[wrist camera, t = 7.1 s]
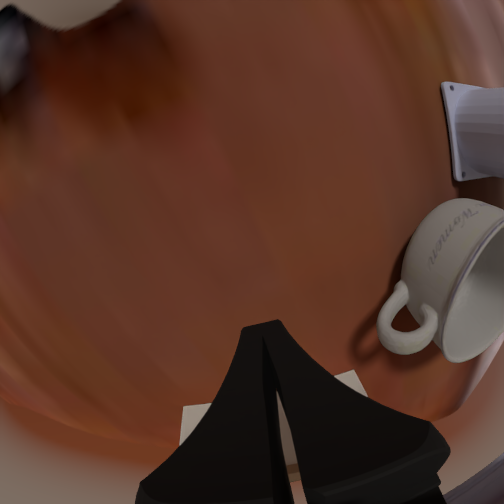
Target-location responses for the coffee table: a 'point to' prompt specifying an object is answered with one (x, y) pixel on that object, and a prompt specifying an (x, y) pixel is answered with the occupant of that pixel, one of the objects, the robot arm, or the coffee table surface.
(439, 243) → the teacup
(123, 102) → the coffee table surface
